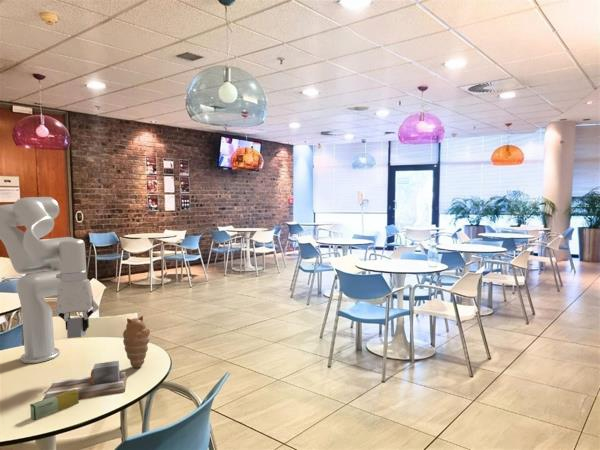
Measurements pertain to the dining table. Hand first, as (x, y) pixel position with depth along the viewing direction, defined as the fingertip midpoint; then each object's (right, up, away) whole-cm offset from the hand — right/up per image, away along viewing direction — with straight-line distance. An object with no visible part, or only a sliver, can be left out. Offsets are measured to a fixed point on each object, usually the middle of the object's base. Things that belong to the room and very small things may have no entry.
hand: (77, 330), depth 143 cm
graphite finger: (0, -2, -1) cm, 2 cm away
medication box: (+5, -18, -21) cm, 28 cm away
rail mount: (+8, -16, -9) cm, 20 cm away
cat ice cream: (+18, -15, +7) cm, 24 cm away
